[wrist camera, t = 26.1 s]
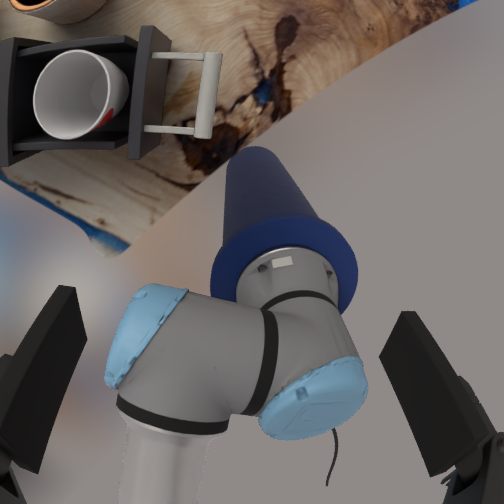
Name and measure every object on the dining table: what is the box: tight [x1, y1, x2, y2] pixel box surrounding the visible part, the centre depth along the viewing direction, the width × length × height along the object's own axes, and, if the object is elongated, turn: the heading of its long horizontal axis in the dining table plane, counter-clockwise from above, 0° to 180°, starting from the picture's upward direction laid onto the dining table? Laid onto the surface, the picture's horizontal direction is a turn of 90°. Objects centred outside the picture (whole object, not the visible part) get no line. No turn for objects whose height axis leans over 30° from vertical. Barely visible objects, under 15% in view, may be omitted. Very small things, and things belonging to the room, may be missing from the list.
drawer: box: [12, 25, 223, 160], centre depth 27 cm, size 23×13×9 cm, turn 82°
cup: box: [33, 50, 129, 139], centre depth 25 cm, size 8×8×10 cm
